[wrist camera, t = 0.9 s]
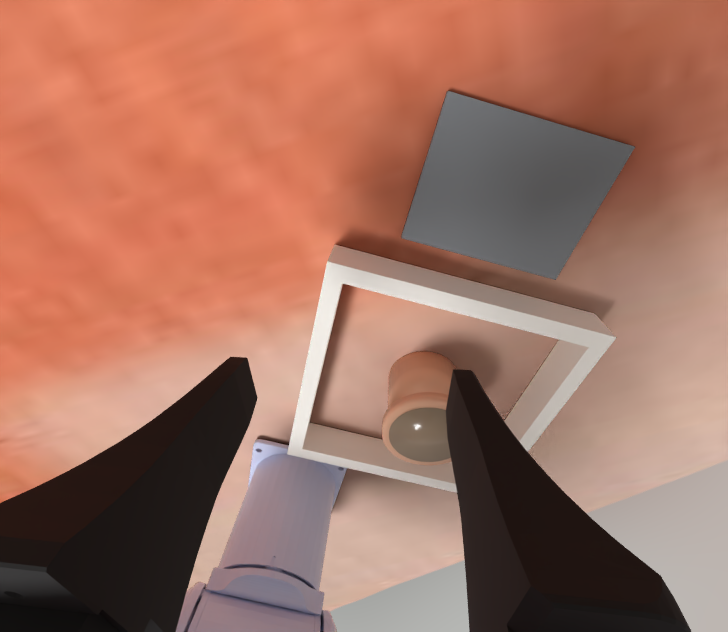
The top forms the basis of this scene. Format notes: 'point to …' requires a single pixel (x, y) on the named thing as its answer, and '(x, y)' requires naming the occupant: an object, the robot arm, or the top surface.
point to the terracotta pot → (418, 409)
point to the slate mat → (510, 186)
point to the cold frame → (367, 271)
